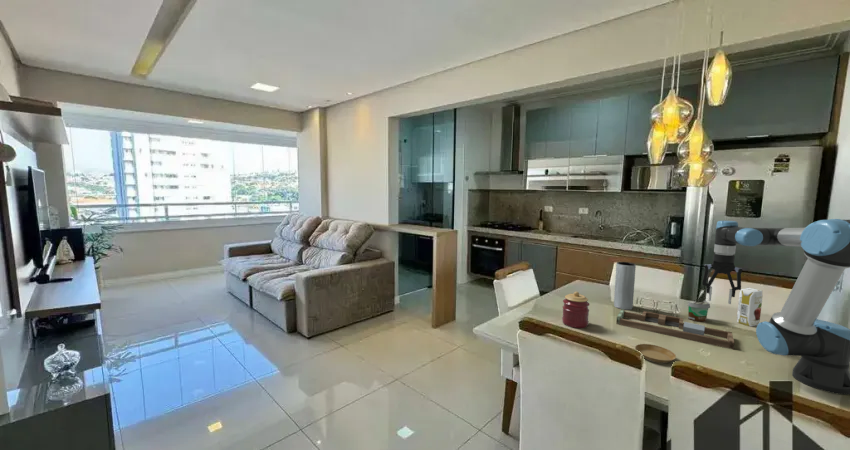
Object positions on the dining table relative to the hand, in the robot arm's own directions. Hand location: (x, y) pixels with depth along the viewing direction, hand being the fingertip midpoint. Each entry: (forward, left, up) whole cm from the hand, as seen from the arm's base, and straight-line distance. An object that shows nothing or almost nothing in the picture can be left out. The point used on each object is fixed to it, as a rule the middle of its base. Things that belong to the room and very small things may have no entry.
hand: (719, 301), depth 162 cm
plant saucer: (-38, +22, -19) cm, 48 cm away
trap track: (+4, +17, -19) cm, 26 cm away
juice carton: (+37, -14, -19) cm, 44 cm away
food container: (+27, +6, -19) cm, 34 cm away
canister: (-21, +58, -19) cm, 65 cm away
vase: (+25, +42, -19) cm, 53 cm away
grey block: (0, +8, -19) cm, 21 cm away
